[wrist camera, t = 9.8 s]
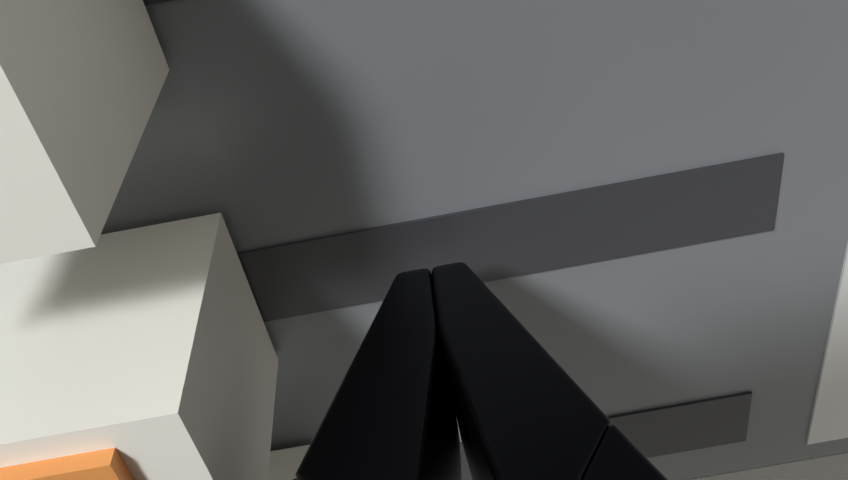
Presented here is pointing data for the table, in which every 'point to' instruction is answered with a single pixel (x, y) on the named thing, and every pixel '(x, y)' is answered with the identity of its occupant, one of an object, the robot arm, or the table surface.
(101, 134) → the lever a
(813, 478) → the table surface
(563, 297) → the panel
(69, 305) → the orange patched ivory cube
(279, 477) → the plain ivory cube
